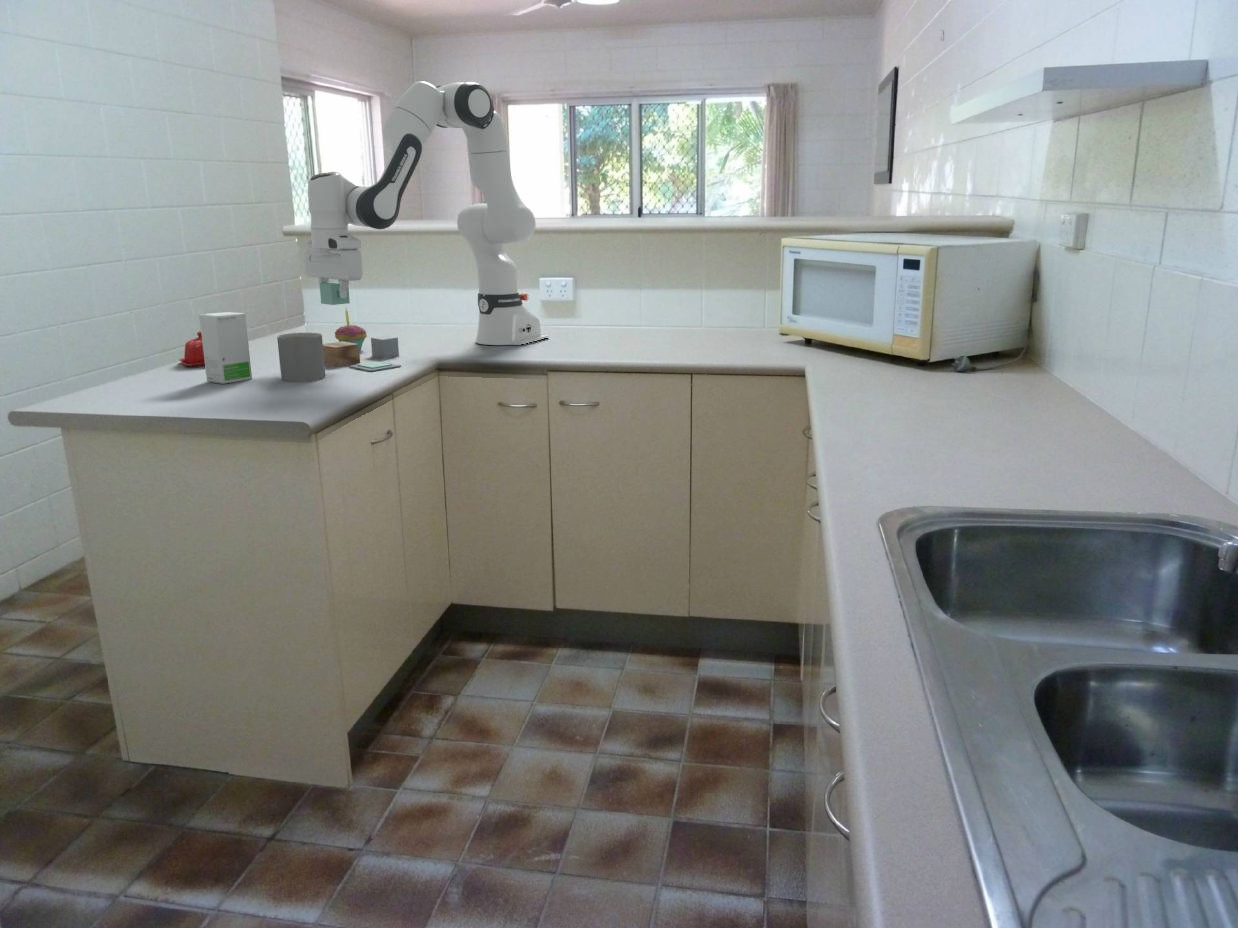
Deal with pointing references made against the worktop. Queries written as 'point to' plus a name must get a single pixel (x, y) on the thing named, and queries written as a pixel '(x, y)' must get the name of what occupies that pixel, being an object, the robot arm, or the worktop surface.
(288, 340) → the coffee mug
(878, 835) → the worktop surface
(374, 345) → the grey block
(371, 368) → the tile
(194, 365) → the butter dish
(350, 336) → the cupcake
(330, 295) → the teal block
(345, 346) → the walnut block
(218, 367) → the skincare box
